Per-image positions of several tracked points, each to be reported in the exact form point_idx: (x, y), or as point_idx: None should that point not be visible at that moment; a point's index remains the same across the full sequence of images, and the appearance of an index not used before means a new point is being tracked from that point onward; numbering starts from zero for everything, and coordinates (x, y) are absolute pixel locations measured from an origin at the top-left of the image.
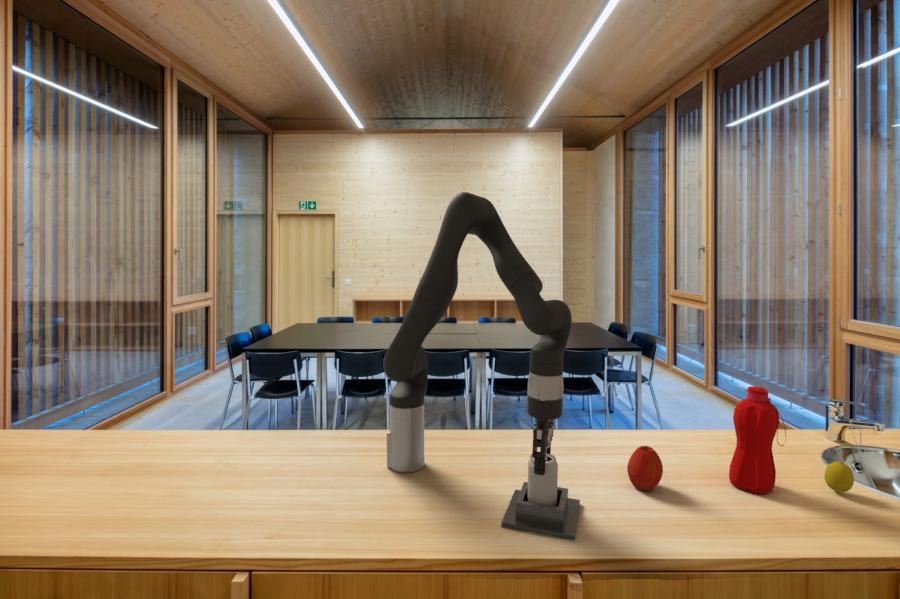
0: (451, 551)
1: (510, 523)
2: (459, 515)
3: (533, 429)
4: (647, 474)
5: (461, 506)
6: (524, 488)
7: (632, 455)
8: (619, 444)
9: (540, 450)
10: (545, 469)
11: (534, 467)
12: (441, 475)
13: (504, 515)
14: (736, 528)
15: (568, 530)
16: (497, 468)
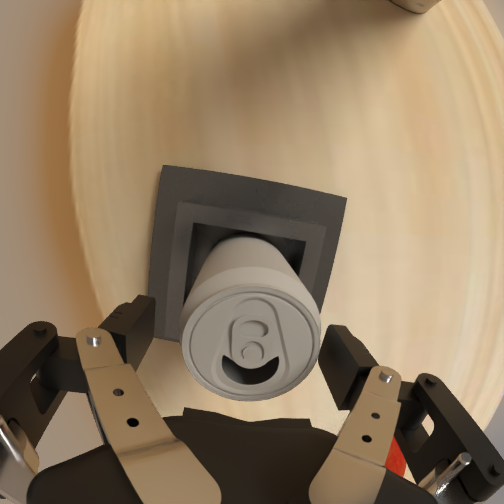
0: (78, 88)
1: (161, 188)
2: (206, 64)
3: (121, 465)
4: None
5: (250, 63)
6: (279, 228)
7: (392, 463)
8: (484, 387)
9: (340, 339)
10: (181, 345)
11: (130, 305)
12: (386, 32)
13: (197, 169)
14: None
15: (163, 326)
16: (448, 161)
